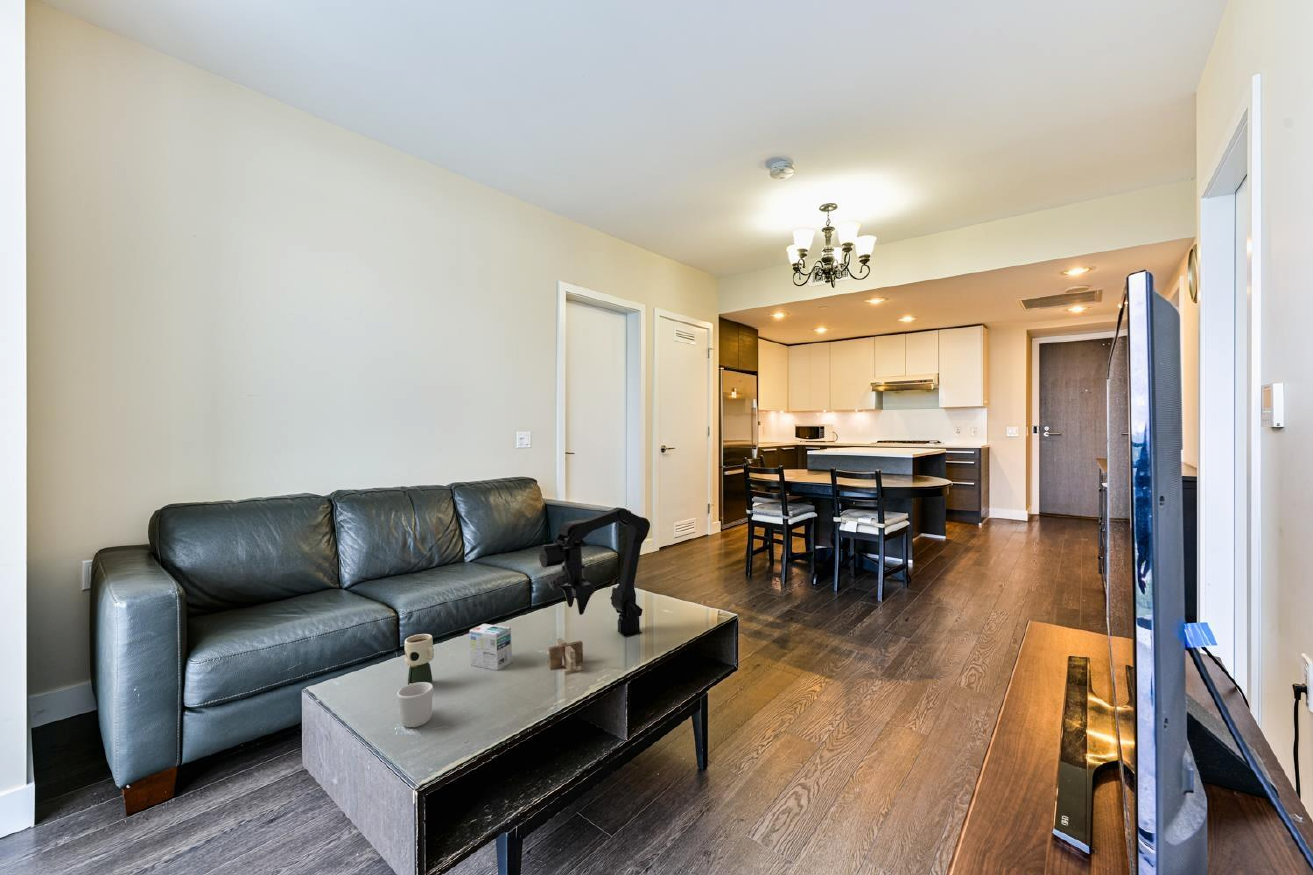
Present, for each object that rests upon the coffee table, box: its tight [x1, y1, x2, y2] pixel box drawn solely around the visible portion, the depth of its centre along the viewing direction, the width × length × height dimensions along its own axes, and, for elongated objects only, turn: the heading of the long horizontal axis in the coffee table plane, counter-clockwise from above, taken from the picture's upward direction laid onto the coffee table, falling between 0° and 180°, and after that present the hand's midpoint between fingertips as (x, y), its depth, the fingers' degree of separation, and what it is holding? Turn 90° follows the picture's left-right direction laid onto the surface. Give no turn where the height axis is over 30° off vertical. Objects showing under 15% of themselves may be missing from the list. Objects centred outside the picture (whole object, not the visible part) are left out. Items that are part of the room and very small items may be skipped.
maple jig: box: [556, 637, 582, 675], centre depth 162 cm, size 5×12×6 cm, turn 28°
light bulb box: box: [469, 623, 513, 671], centre depth 165 cm, size 11×7×11 cm, turn 65°
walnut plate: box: [547, 640, 584, 671], centre depth 162 cm, size 10×1×6 cm, turn 118°
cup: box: [396, 682, 434, 728], centre depth 133 cm, size 11×8×8 cm
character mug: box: [404, 633, 435, 685], centre depth 152 cm, size 11×7×13 cm, turn 63°
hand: (575, 610), depth 176 cm, fingers open, 9 cm apart
